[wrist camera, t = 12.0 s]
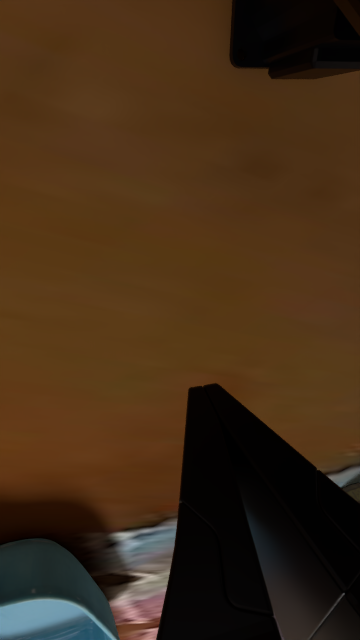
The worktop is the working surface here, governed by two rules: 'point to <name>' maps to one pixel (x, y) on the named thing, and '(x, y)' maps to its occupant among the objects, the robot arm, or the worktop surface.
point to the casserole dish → (50, 595)
